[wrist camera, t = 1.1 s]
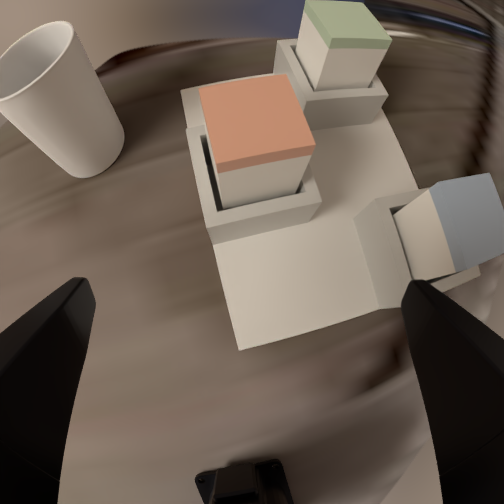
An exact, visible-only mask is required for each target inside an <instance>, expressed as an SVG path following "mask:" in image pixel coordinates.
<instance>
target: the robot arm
mask: <svg viewBox="0 0 504 504" xmlns="http://www.w3.org/2000/svg"><path fill="white" fill-rule="evenodd" d="M95 308H96V302H95V298H94V295H93V292H92V289H91V287H90V284H89V281H88V280H87V279H86V278H83V277H74V278H72V279H70V280H69V281H67V282H66V283H65V284H63V285H62V286H61V287H59V288H58V289H57V290H55V291H54V292H53V293H51V294H50V295H49V296H47V297H46V298H45V299H43V300H42V301H41V302H39V303H38V304H37V305H35V306H34V307H33V308H31V309H30V310H29V311H28V312H26V313H25V314H24V315H23V316H21V317H20V318H19V319H17V320H16V321H15V322H14V323H12V324H11V325H10V326H9V327H8V328H6V329H5V330H4V331H3V332H1V333H0V504H57V502H58V493H59V485H60V476H61V469H62V462H63V456H64V450H65V444H66V439H67V434H68V428H69V424H70V419H71V414H72V410H73V405H74V401H75V396H76V392H77V388H78V384H79V380H80V376H81V373H82V369H83V365H84V361H85V358H86V354H87V349H88V344H89V338H90V333H91V327H92V322H93V317H94V313H95ZM401 311H402V315H403V320H404V324H405V329H406V334H407V339H408V344H409V349H410V353H411V357H412V360H413V364H414V367H415V371H416V374H417V378H418V381H419V385H420V389H421V393H422V397H423V400H424V404H425V409H426V413H427V417H428V421H429V426H430V430H431V435H432V439H433V444H434V449H435V454H436V460H437V465H438V471H439V475H440V476H439V479H440V485H441V492H442V499H443V504H504V339H503V338H501V337H500V336H499V335H498V334H496V333H495V332H494V331H492V330H491V329H490V328H489V327H487V326H486V325H485V324H484V323H482V322H481V321H480V320H478V319H477V318H476V317H474V316H473V315H472V314H470V313H469V312H468V311H466V310H465V309H464V308H462V307H461V306H460V305H458V304H457V303H456V302H454V301H453V300H452V299H450V298H449V297H448V296H446V295H445V294H443V293H442V292H441V291H439V290H438V289H436V288H435V287H434V286H432V285H431V284H429V283H428V282H427V281H425V280H423V279H413V280H411V281H410V282H409V284H408V286H407V289H406V291H405V293H404V296H403V298H402V301H401ZM274 464H278V466H277V467H272V466H273V465H274ZM200 478H202V479H204V480H205V481H200V480H199V479H200ZM195 483H196V485H197V488H198V490H199V493H200V495H201V497H202V500H203V502H204V504H294V503H293V500H292V496H291V493H290V490H289V486H288V483H287V480H286V476H285V473H284V469H283V466H282V463H281V461H280V460H278V459H273V460H268V461H264V462H260V463H256V464H253V463H246V464H241V465H236V466H231V467H226V468H220V469H218V470H217V471H214V472H207V473H200V474H198V475H196V477H195Z"/></svg>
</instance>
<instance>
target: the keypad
mask: <svg viewBox="0 0 504 504" xmlns="http://www.w3.org/2000/svg"><path fill="white" fill-rule="evenodd" d="M297 41H298V39H288V40H277V47H276V55H275V62H274V69H273V73H272V74H265V75H257V76H251V77H244V78H238V79H232V80H227V81H221V82H216V83H211V84H206V85H201V86H197V87H192V88H188V89H184V90H180V91H181V96H182V102H183V107H184V112H185V117H186V122H187V127H188V128H187V129H186V133H187V138H188V143H189V148H190V153H191V158H192V163H193V168H194V173H195V178H196V182H197V187H198V192H199V196H200V201H201V206H202V210H203V215H204V219H205V224H206V228H207V231H208V233H209V236H210V239H211V241H212V244H213V248H214V252H215V256H216V261H217V265H218V269H219V273H220V277H221V281H222V285H223V289H224V294H225V298H226V302H227V306H228V310H229V314H230V318H231V321H232V325H233V329H234V333H235V337H236V341H237V345H238V348H239V350H243V349H247V348H251V347H255V346H259V345H263V344H267V343H271V342H274V341H278V340H282V339H285V338H289V337H292V336H296V335H300V334H303V333H306V332H310V331H313V330H317V329H320V328H323V327H326V326H330V325H333V324H336V323H339V322H342V321H345V320H349V319H352V318H355V317H358V316H361V315H364V314H367V313H370V312H372V311H375V310H378V309H386V308H396V307H401V301H402V298H403V296H404V293H405V291H406V289H407V286H408V284H409V282H410V281H411V280H412V279H411V276H410V272H409V268H408V265H407V262H406V258H405V255H404V251H403V248H402V245H401V242H400V239H399V236H398V232H397V229H396V226H395V223H394V220H393V218H392V215H394V214H395V213H397V212H398V211H399V210H401V209H402V208H403V207H405V206H406V205H408V204H409V203H410V202H412V201H413V200H414V199H416V198H417V197H418V196H420V195H421V194H423V193H424V192H425V191H427V190H428V189H429V188H431V187H429V188H424V189H419V190H418V187H417V184H416V182H415V179H414V177H413V175H412V172H411V170H410V167H409V165H408V163H407V160H406V158H405V156H404V154H403V151H402V149H401V147H400V145H399V143H398V140H397V138H396V136H395V134H394V132H393V130H392V128H391V126H390V124H389V122H388V120H387V118H386V116H385V114H384V112H383V110H382V108H381V106H382V105H383V103H384V102H385V100H386V99H387V97H388V93H387V92H386V90H385V88H384V86H383V85H382V83H381V81H380V79H379V78H378V76H377V74H376V73H375V75H374V77H373V79H372V81H371V83H370V85H369V86H368V88H357V89H340V90H327V91H316V92H313V90H312V88H311V86H310V84H309V82H308V80H307V78H306V76H305V74H304V72H303V70H302V68H301V66H300V64H299V62H298V60H297V58H296V56H295V51H296V46H297ZM281 74H286V75H287V77H288V79H289V81H290V84H291V86H292V88H293V90H294V93H295V95H296V97H297V99H298V102H299V104H300V106H301V109H302V111H303V114H304V116H305V118H306V121H307V123H308V126H309V128H310V131H311V133H312V136H313V138H314V141H315V143H316V146H315V148H314V151H313V153H312V155H311V158H310V160H309V162H308V165H307V167H306V169H305V172H304V174H303V176H302V179H301V181H300V183H299V186H298V188H297V190H296V193H295V194H294V195H289V196H284V197H280V198H275V199H270V200H266V201H261V202H257V203H252V204H248V205H244V206H239V207H235V208H231V209H227V210H223V207H222V203H221V199H220V194H219V190H218V186H217V182H216V178H215V173H214V169H213V165H212V161H211V157H210V152H209V148H208V142H207V137H206V131H205V125H204V119H203V113H202V107H201V101H200V95H199V89H198V88H202V87H207V86H211V85H216V84H222V83H227V82H233V81H238V80H245V79H251V78H258V77H265V76H273V75H281ZM480 275H481V274H480V270H479V266H478V265H477V266H474V267H472V268H470V269H467V270H463V271H460V272H456V273H452V274H448V275H445V276H441V277H437V278H433V279H429V280H425V281H427V282H428V283H429V284H431V285H432V286H434V287H435V288H436V289H438V290H439V291H441V292H444V291H447V290H449V289H451V288H454V287H456V286H458V285H461V284H463V283H465V282H467V281H470V280H472V279H474V278H476V277H478V276H480Z"/></svg>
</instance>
